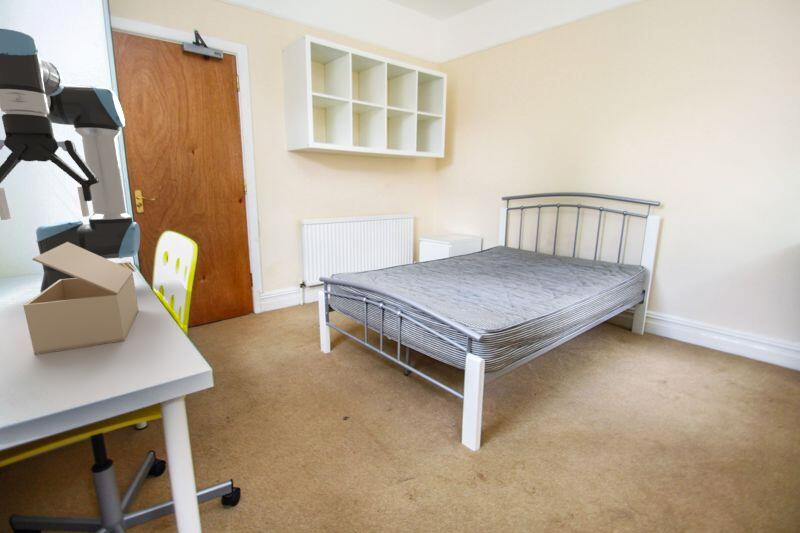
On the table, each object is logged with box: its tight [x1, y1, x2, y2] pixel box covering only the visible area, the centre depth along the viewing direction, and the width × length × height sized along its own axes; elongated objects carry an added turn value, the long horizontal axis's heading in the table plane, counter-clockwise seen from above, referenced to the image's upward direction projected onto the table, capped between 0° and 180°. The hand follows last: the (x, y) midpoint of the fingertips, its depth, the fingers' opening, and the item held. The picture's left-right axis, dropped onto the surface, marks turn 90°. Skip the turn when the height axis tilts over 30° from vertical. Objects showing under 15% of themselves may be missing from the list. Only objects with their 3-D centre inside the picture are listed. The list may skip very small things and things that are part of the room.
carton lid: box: [31, 242, 134, 294], centre depth 95 cm, size 24×16×1 cm
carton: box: [22, 272, 139, 355], centre depth 96 cm, size 24×16×11 cm, turn 27°
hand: (47, 217), depth 86 cm, fingers open, 13 cm apart
